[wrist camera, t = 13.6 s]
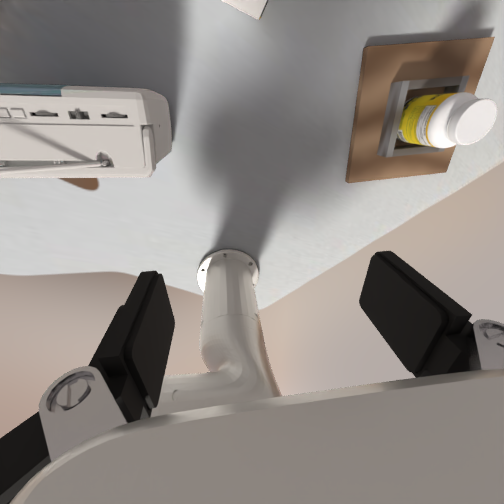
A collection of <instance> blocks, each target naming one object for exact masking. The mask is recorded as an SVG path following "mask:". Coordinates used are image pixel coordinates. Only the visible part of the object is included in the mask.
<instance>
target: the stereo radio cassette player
mask: <svg viewBox="0 0 504 504" xmlns="http://www.w3.org/2000/svg"><path fill="white" fill-rule="evenodd" d="M171 149H172V133H171V121H170V113H169V106H168V102H167V100H166V98H165V97H164V96H162V95H161V94H159V93H157V92H154V91H152V90H149V89H142V88H119V87H91V86H72V85H43V84H9V83H0V178H110V177H151V175H152V174H153V172H154V171H155V169H156V164H157V163H158V162H159V161H160V160H162V159H163V158H164V157H165V156H166V155H168V154H169V153H170V152H171Z"/></svg>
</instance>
